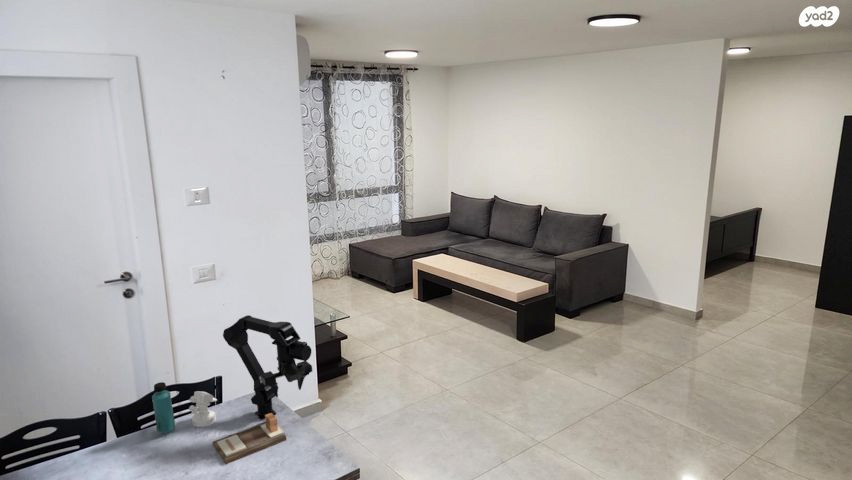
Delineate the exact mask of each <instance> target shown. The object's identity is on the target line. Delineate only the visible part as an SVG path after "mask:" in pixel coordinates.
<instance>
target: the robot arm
mask: <svg viewBox="0 0 852 480" xmlns="http://www.w3.org/2000/svg"><path fill="white" fill-rule="evenodd" d="M248 330H249V331H253V332H258V333H261V334H265V335H267V336H269V337H270V338H271V340H273V341H272V342H271V345H275V346H276V351H277V352H276V355H277V356H276V361H277V371H278V372H276V373H275V372H274V373H273V372H272V371H270V370H269V371H267V372H265V371H264V369H263V367H262V366H261V364H260V362H259V359H257V356H256V354H255V353H254V351H253V349H252V347H251V346H250V344H249V334H248ZM222 336H223V340H225V342H226V343H227V345H228V346H229V347H231V348H233V349H235V350H236V351H237V353H238V356H239V357H240V359H241V361H242V362H243V364H244V367H245V368H246V369H247V371H248V373H249V374H250V377H251V378H252V380H253V391H254V393H255V394H254V395H253V396H252V397H251V398H250V401H251V403H252V405H255V406H256V408H257V411H255V412H254V414H255V416H257V418H258V419H260V420H265V415H267V414H269V413H272V414H273V415H274V416H275V415H277V412H276V411H275V410H274V408H273V400H272V399H273V398H275V397H276V398H279V393H278V392H279V386H278V382H277V379H278V378H283V377H284V378H285V379H286V380H287V382H288V383H292V382H293V381H297V388H298V390H299V391H300V390H302V387H303V384H304V380H305V378H306V377H307V376H308V375H310V373H312V372H313V366H312V364H311V363H309V362H308V361H309V359H310V358H311V355H312V348H311V346H310V345H308V342H307V341H301V337H300V335H299V333H298V332H297V331H296V328H294V326H293V324H292V323H291V322H289V321H278V322H277V321H276V322H273V321H269V320H265V319H261V318H258V317H255V316H251V315H245V316H243V317H241V318H239V319H237V321H236V322H234V323H233V324H232V325H230V326H229V327H227V328H224V330H223V333H222ZM296 360H298V361H300V362H297V363H296Z"/></svg>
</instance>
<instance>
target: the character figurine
mask: <svg viewBox="0 0 852 480" xmlns="http://www.w3.org/2000/svg"><path fill="white" fill-rule="evenodd" d="M193 393H194V394H193V395H191V396H190V398H189V400H188V401H189V402H190V403H196V404H195V405H193V404H192V405H190V406H189V407H188V410H189V411H191V414H194V415H193V416H192V417H191V421H192V425H193V426H194V427H195V428H204V427H208V426H210V425H212V424H214V423H215V422H216V420H217V418H216V416H217V415H216V412H214V411H213V410H210V409H209V407H208V406H210V405H211V403H212V402H217V401H218V399H217V398H215V397H214V395H213V394H210V393H208V392H206V391H199V390H197V391H194V392H193Z"/></svg>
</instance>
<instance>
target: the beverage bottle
mask: <svg viewBox="0 0 852 480" xmlns="http://www.w3.org/2000/svg"><path fill="white" fill-rule="evenodd" d="M153 391H154V393H153V395H151V400H152V406H153V414H154V419H155V420H154V421H155V427H156V428H155V429H156V431H157V432H158V433H160V434H166V433H169V432H172V431H173V430H174V429H175V427H176V421H175V415H174V409H173V404H172V402H173V401H172V396H171V392H170V391H169V390H167V384H166V382H163V381H162V382H160V381H159V382H157V383H155V384H154V385H153Z"/></svg>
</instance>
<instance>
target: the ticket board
mask: <svg viewBox="0 0 852 480" xmlns="http://www.w3.org/2000/svg"><path fill="white" fill-rule="evenodd" d="M265 423H266V421H263V422H260V423H258V424H255V425H252V426H250V427H247V428H244V429H241V430H238V431H237V432H235V433H233V434H230V435H227V436H224V437H221V438H219V439H216V440H214V441H212V446H213V447H214V449H215V451H216V452H217V454H218V455H219V456H220V458H221V459H222V461H223V463H225V465H228V464H230V463H233V462H235V461H238V460H241V459H243V458H245V457H247V456H250V455H253V454H255V453H258V452H260V451H262V450H265V449H268V448H270V447H272V446H275V445H278V444H279V443H280V444H281V443H283V442H285V441H287V436H286V433H285V432H284V433H282V434H279V435H277V436H274V437H272V438H270V437H269V436H268V435H267V434H266V433H265V431H264V430H263V429H262V428H261V427H260V425H263V424H265Z"/></svg>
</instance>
